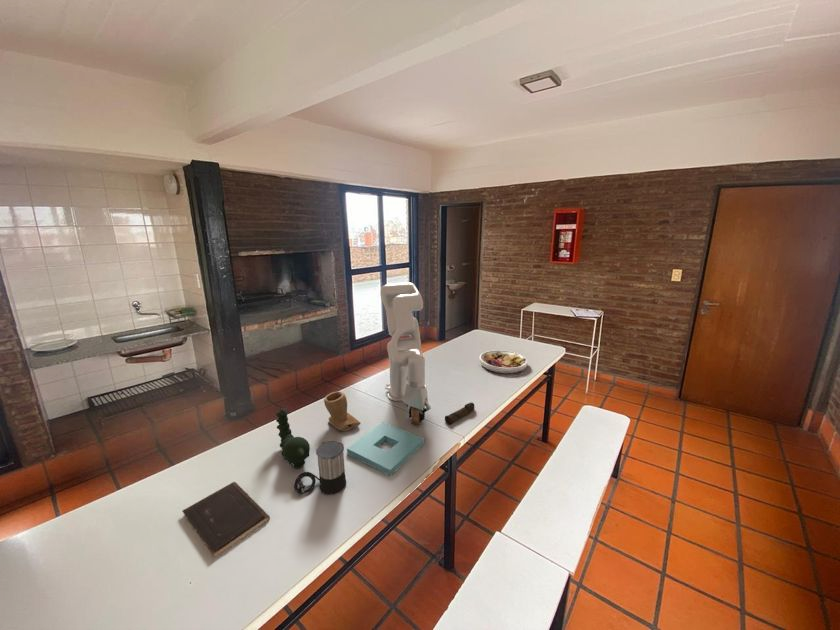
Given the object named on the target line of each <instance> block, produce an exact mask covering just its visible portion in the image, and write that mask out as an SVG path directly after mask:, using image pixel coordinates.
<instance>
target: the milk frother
mask: <svg viewBox="0 0 840 630" xmlns="http://www.w3.org/2000/svg"><path fill="white" fill-rule="evenodd" d="M344 450H345V446H344V444H343V443H342V442H340V441H338V440H326V441H325V440H324V441H323V442H322V443H321V444H320V445H319V446H318V447H317V448H316V449H315V454H316V456H317V465H318V475H319V477H317V476H316V475H315V474H314V473H312V472H310V471H304V472H301V473H299V475H298V476H297V477H296V478H295V480H294V483H293V489H294V491H295V493H296V494H298V495H306V494H308V493H310V492H311V491H313V490H314V488H315V486H316V482H317V481H316V480H318V481H319V487H318V489H319V491H320V493H322V494H324V495H326V496H333V495H337V494H339V493H341V492H342V491H344V489H345V488H346V487H347V479H346V473H345V472H346V470H345V456H344V455H345V454H344ZM305 477H306V478H307V477H308V478H310V479H311V485H310V486H309V487H308V488H306V485H304V482H303V478H305ZM305 488H306V489H305Z"/></svg>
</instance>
